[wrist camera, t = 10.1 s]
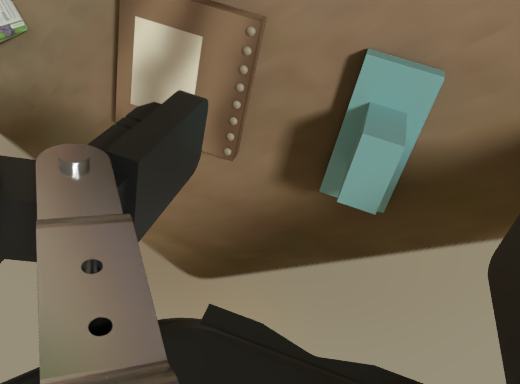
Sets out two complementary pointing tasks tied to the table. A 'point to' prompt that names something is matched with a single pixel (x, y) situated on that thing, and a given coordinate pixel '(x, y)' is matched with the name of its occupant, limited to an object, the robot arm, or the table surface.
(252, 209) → the table surface
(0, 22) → the syrup box
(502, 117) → the table surface
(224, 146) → the board
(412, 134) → the stub
